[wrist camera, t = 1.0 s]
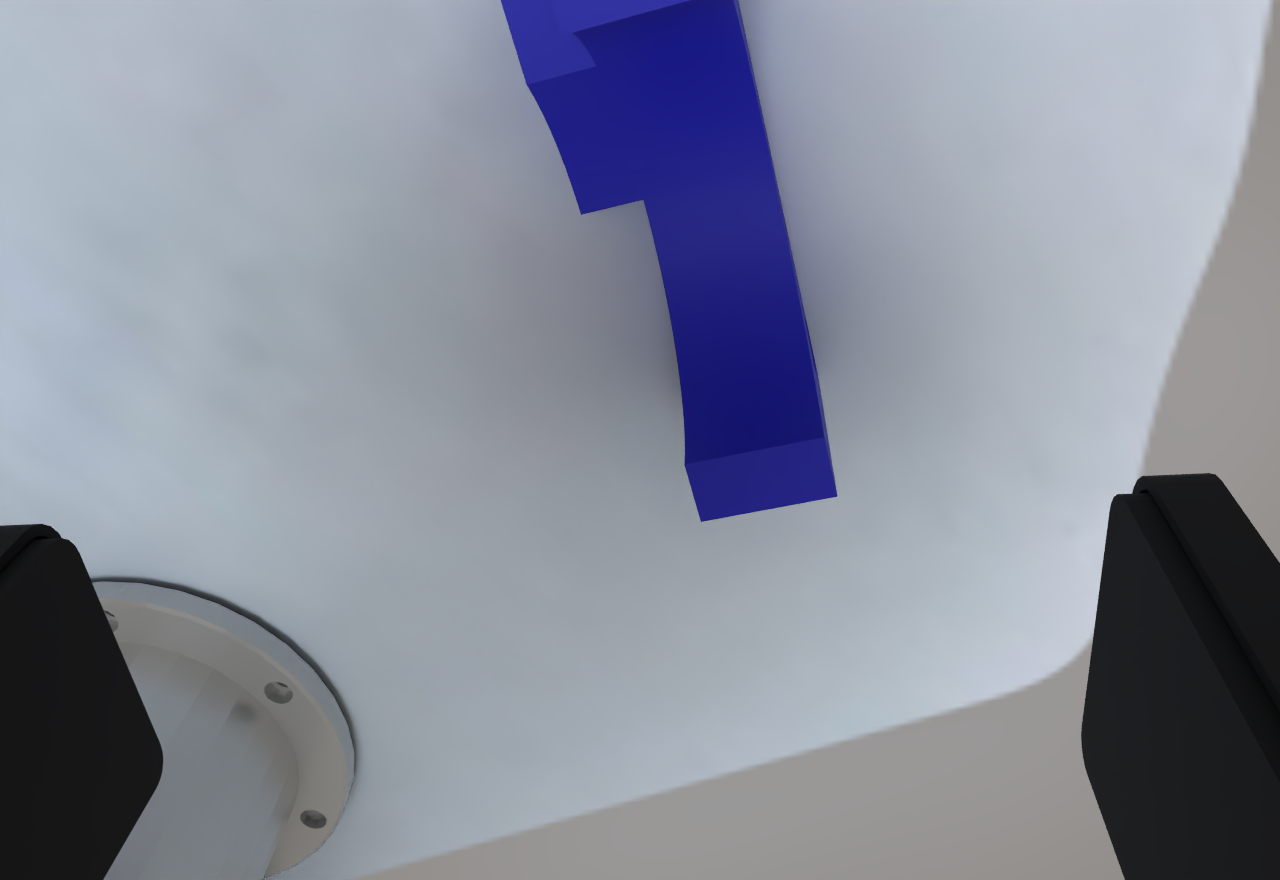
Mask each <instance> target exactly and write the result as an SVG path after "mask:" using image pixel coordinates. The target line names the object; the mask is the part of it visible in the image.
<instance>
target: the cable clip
mask: <svg viewBox="0 0 1280 880" xmlns="http://www.w3.org/2000/svg"><path fill="white" fill-rule="evenodd" d="M501 3H502V6H503V9H504V12H505V16H506V19H507V22H508V25H509V29H510V32H511V35H512V38H513V42H514V45H515V48H516V51H517V55H518V58H519V61H520V64H521V67H522V71H523V74H524V77H525V80H526V84H527V86H528V87H529V89H530V91H531V93H532V94H533V96H534V98H535V100H536V101H537V103H538V105H539V107H540V109H541V111H542V113H543V115H544V117H545V119H546V122H547V124H548V126H549V128H550V130H551V133H552V135H553V137H554V140H555V142H556V144H557V147H558V149H559V152H560V155H561V157H562V160H563V162H564V165H565V168H566V170H567V173H568V176H569V179H570V182H571V185H572V188H573V191H574V194H575V197H576V200H577V203H578V206H579V209H580V212H581V215H582V214H586V213H590V212H594V211H598V210H602V209H606V208H610V207H615V206H619V205H623V204H627V203H631V202H635V201H639V200H643V199H644V203H645V207H646V211H647V214H648V218H649V222H650V226H651V230H652V234H653V238H654V243H655V247H656V251H657V255H658V260H659V264H660V269H661V273H662V278H663V283H664V288H665V292H666V298H667V303H668V308H669V313H670V319H671V324H672V330H673V336H674V342H675V348H676V355H677V362H678V369H679V377H680V385H681V393H682V403H683V415H684V431H685V468H686V471H687V475H688V478H689V482H690V485H691V489H692V492H693V496H694V499H695V502H696V506H697V509H698V513H699V516H700V520H701V522H703V521H708V520H713V519H719V518H724V517H729V516H735V515H740V514H746V513H751V512H756V511H762V510H767V509H773V508H778V507H783V506H789V505H794V504H800V503H805V502H810V501H816V500H821V499H826V498H832V497H837V491H836V485H835V479H834V473H833V466H832V460H831V454H830V448H829V441H828V435H827V429H826V423H825V417H824V410H823V404H822V398H821V392H820V385H819V379H818V374H817V369H816V364H815V359H814V355H813V350H812V345H811V341H810V336H809V331H808V327H807V322H806V317H805V312H804V308H803V303H802V298H801V294H800V289H799V284H798V280H797V275H796V270H795V265H794V261H793V256H792V251H791V247H790V242H789V237H788V232H787V228H786V223H785V218H784V214H783V209H782V204H781V200H780V195H779V190H778V185H777V181H776V176H775V171H774V167H773V162H772V157H771V152H770V148H769V143H768V138H767V134H766V129H765V124H764V120H763V115H762V110H761V105H760V101H759V96H758V91H757V87H756V82H755V77H754V73H753V68H752V63H751V58H750V54H749V49H748V44H747V40H746V35H745V30H744V25H743V21H742V16H741V11H740V7H739V2H738V0H501Z"/></svg>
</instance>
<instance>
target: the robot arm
mask: <svg viewBox="0 0 1280 880" xmlns="http://www.w3.org/2000/svg"><path fill="white" fill-rule="evenodd" d="M1081 739H1082V752H1083V758H1084V764H1085V768H1086V771H1087V774H1088V777H1089V780H1090V783H1091V786H1092V789H1093V791H1094V794H1095V797H1096V800H1097V803H1098V805H1099V808H1100V811H1101V814H1102V816H1103V819H1104V822H1105V825H1106V828H1107V830H1108V833H1109V836H1110V839H1111V842H1112V844H1113V847H1114V850H1115V853H1116V856H1117V859H1118V861H1119V864H1120V867H1121V870H1122V873H1123V875H1124V878H1125V880H1280V563H1279V561H1278V560H1277V559H1276V557H1275V556H1274V554H1273V553H1272V552H1271V550H1270V549H1269V547H1268V546H1267V544H1266V543H1265V541H1264V540H1263V539H1262V537H1261V536H1260V534H1259V533H1258V532H1257V530H1256V529H1255V527H1254V526H1253V525H1252V523H1251V522H1250V520H1249V519H1248V517H1247V516H1246V515H1245V513H1244V512H1243V510H1242V509H1241V507H1240V506H1239V505H1238V503H1237V502H1236V500H1235V499H1234V497H1233V496H1232V495H1231V493H1230V492H1229V490H1228V489H1227V487H1226V486H1225V485H1224V483H1223V482H1222V481H1221V480H1220V479H1219V478H1218V477H1217V476H1216V475H1215V474H1210V473H1204V474H1181V475H1159V476H1142V477H1141V478H1139V479H1138V480H1137V482H1136V484H1135V486H1134V489H1133V493H1132V494H1117V495H1116V496H1115V497H1114V498H1113V501H1112V503H1111V507H1110V513H1109V521H1108V528H1107V536H1106V544H1105V552H1104V559H1103V567H1102V575H1101V582H1100V590H1099V598H1098V606H1097V613H1096V621H1095V629H1094V637H1093V644H1092V652H1091V660H1090V667H1089V675H1088V683H1087V691H1086V698H1085V706H1084V714H1083V722H1082V733H1081ZM353 779H354V748H353V744H352V740H351V736H350V732H349V728H348V724H347V722H346V720H345V718H344V716H343V714H342V712H341V710H340V708H339V706H338V704H337V702H336V700H335V698H334V696H333V695H332V693H331V692H330V691H329V690H328V688H327V687H326V686H325V684H324V683H323V682H322V680H321V679H320V678H319V676H318V675H317V674H316V672H315V671H314V670H313V669H312V668H311V667H310V666H309V665H308V664H307V663H306V662H305V661H304V660H303V659H302V658H301V657H299V656H298V655H297V654H296V653H295V652H294V651H293V650H292V649H291V648H290V647H289V646H288V645H287V644H285V643H284V642H282V641H281V640H280V639H278V638H277V637H275V636H274V635H272V634H271V633H269V632H268V631H267V630H265V629H264V628H262V627H261V626H259V625H258V624H256V623H255V622H253V621H251V620H249V619H247V618H245V617H243V616H241V615H239V614H237V613H235V612H233V611H231V610H229V609H227V608H225V607H223V606H221V605H219V604H217V603H214V602H211V601H208V600H205V599H202V598H200V597H197V596H194V595H191V594H188V593H185V592H182V591H179V590H174V589H168V588H163V587H158V586H153V585H147V584H142V583H127V582H102V581H101V582H93V583H92V582H91V579H90V577H89V575H88V572H87V570H86V567H85V565H84V563H83V560H82V558H81V556H80V553H79V552H78V550H77V548H76V546H75V545H74V544H73V543H72V542H70V541H69V540H66V539H63V538H61V536H60V535H59V533H58V532H57V531H55V530H54V529H53V528H52V527H51V526H47V525H44V524H30V525H7V526H0V880H262V879H263V878H266V877H271V876H273V875H275V874H278V873H280V872H282V871H284V870H287V869H289V868H291V867H294V866H296V865H297V864H299V863H300V862H302V861H303V860H304V859H306V858H307V857H309V856H310V855H311V854H313V853H314V852H316V851H317V850H318V849H319V848H320V847H321V846H322V844H323V843H324V842H325V841H326V840H327V838H328V837H329V836H330V835H331V834H332V833H333V831H334V830H335V827H336V825H337V823H338V821H339V819H340V817H341V814H342V812H343V810H344V808H345V805H346V802H347V799H348V796H349V793H350V789H351V786H352V783H353Z"/></svg>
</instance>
